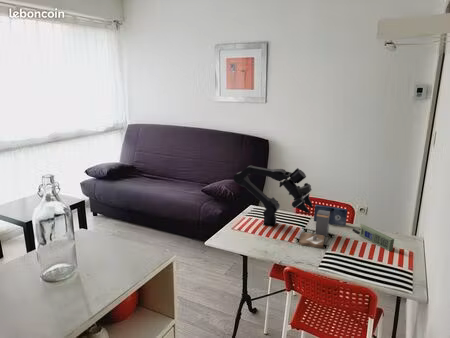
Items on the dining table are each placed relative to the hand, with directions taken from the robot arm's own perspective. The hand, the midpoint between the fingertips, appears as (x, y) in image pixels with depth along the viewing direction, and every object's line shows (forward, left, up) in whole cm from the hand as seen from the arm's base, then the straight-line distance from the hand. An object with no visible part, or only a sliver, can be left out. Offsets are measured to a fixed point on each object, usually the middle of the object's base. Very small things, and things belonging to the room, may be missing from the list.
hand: (310, 209), depth 187 cm
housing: (+7, -1, -13) cm, 14 cm away
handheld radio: (+32, -1, -13) cm, 35 cm away
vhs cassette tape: (+10, +16, -13) cm, 23 cm away
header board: (+2, -12, -13) cm, 18 cm away
